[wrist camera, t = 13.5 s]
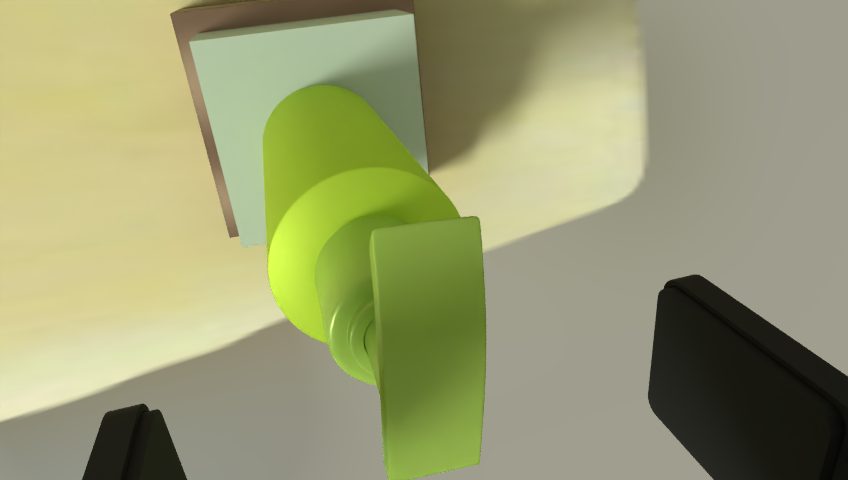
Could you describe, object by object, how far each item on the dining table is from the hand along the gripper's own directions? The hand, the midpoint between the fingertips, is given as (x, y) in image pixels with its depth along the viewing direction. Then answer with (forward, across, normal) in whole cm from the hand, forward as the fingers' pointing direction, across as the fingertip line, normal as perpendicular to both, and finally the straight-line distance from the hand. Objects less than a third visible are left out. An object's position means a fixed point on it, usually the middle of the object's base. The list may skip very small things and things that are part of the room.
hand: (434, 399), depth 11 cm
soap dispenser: (+20, 0, 0) cm, 20 cm away
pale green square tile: (+24, 0, 0) cm, 24 cm away
